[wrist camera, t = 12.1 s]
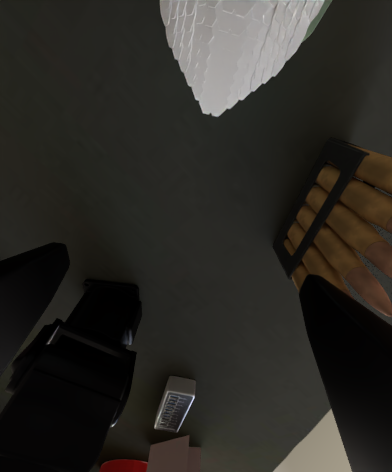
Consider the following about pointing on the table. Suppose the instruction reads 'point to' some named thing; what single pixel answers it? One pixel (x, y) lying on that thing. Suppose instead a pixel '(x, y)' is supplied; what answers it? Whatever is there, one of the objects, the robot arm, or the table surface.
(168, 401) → the multiport hub
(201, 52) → the pincushion
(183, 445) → the greeting card
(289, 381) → the table surface
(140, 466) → the toy clock
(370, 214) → the ammunition clip
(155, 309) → the table surface
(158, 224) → the table surface
